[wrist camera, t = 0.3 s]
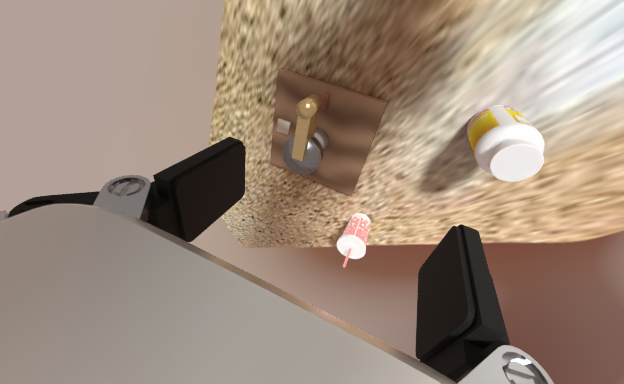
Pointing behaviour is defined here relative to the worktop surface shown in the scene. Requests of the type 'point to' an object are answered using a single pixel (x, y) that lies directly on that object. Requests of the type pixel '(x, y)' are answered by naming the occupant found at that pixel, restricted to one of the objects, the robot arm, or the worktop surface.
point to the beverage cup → (354, 237)
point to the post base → (328, 127)
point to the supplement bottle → (505, 143)
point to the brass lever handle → (304, 138)
